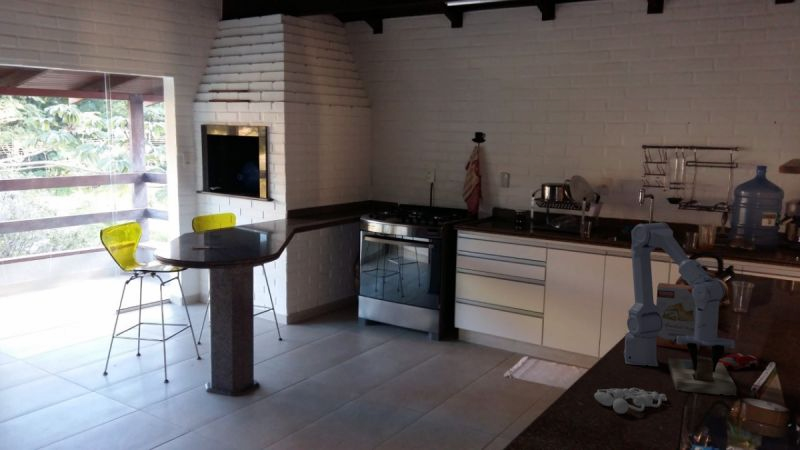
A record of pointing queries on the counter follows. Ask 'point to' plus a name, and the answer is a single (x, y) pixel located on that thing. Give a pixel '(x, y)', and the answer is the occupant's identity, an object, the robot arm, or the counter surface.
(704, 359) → the walnut peg
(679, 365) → the birch board
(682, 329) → the cracker box
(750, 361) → the race car
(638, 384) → the counter surface
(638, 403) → the tangled rod sculpture
